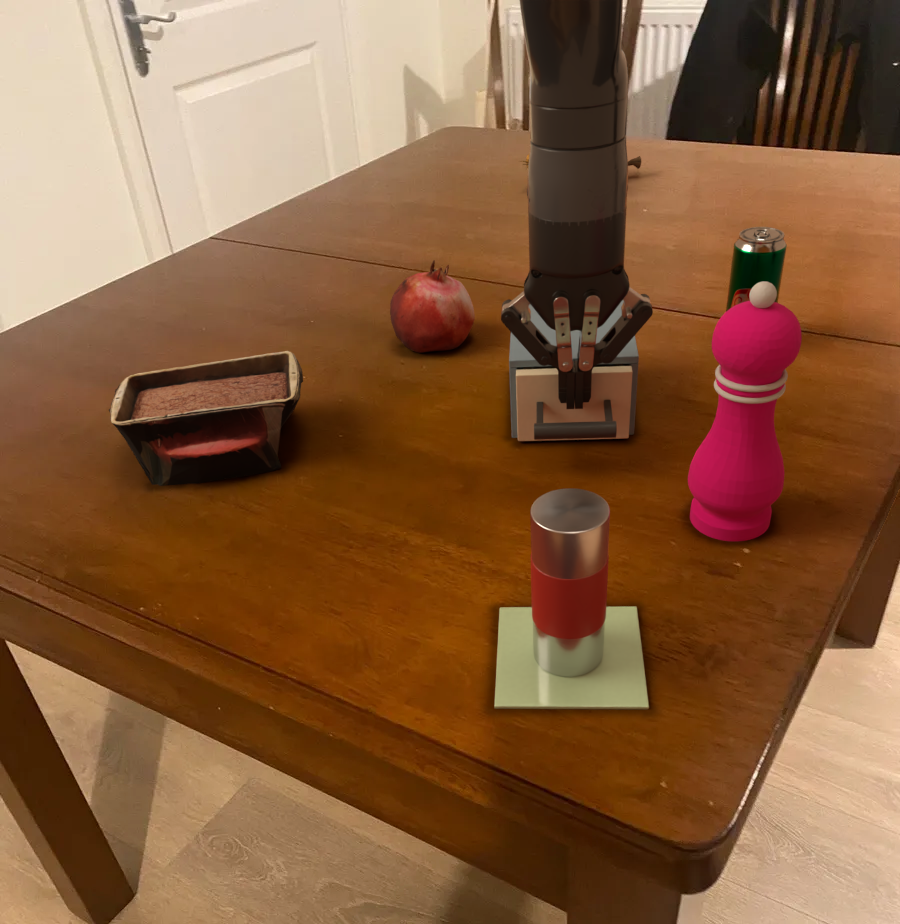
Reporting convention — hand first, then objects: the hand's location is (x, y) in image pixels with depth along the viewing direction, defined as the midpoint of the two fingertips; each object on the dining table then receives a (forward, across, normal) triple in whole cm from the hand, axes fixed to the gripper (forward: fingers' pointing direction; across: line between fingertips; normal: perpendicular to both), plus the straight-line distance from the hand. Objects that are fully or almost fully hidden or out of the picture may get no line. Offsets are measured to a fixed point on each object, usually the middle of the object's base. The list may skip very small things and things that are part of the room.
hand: (574, 404), depth 81 cm
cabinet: (+5, 0, +9) cm, 10 cm away
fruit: (+5, -15, +24) cm, 29 cm away
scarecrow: (+5, +3, +82) cm, 82 cm away
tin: (+4, -1, -27) cm, 28 cm away
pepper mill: (+5, +12, -11) cm, 18 cm away
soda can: (+5, +19, +21) cm, 29 cm away
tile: (+5, -1, -28) cm, 28 cm away
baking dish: (+5, -34, +2) cm, 34 cm away
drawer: (+4, 0, +5) cm, 6 cm away
